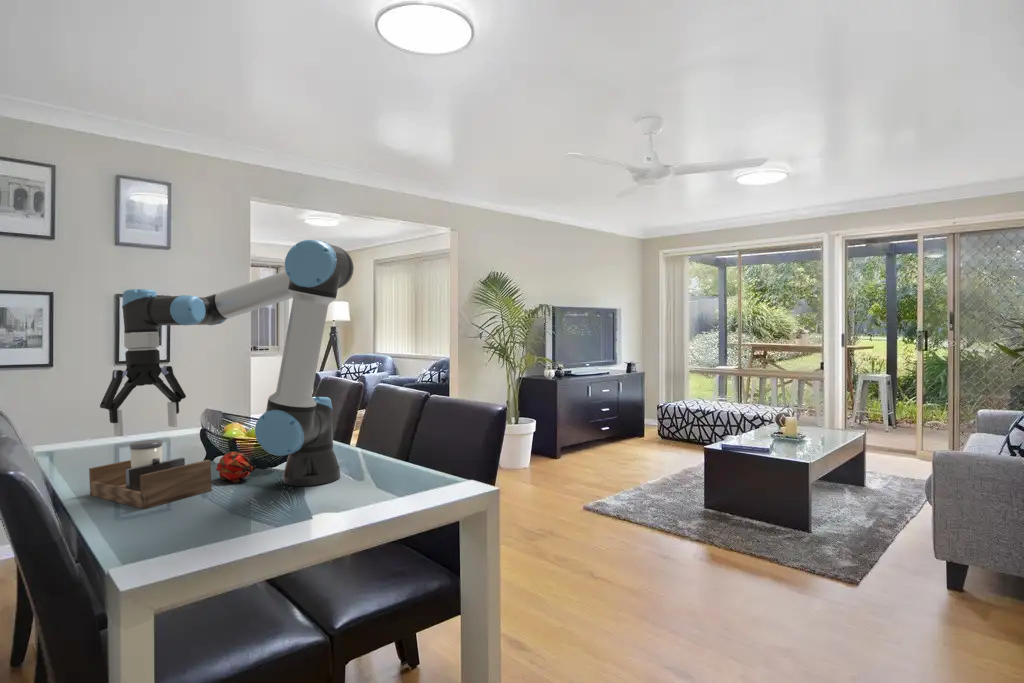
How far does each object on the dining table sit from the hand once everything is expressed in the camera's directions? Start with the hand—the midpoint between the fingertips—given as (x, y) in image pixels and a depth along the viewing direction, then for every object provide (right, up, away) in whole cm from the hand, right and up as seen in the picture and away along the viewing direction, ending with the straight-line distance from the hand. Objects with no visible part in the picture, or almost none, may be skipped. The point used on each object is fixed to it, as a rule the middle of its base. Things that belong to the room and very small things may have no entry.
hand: (146, 431), depth 154 cm
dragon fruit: (+18, -16, +12) cm, 26 cm away
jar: (0, -15, +1) cm, 15 cm away
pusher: (+4, -15, -2) cm, 15 cm away
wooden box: (+1, -16, 0) cm, 16 cm away
